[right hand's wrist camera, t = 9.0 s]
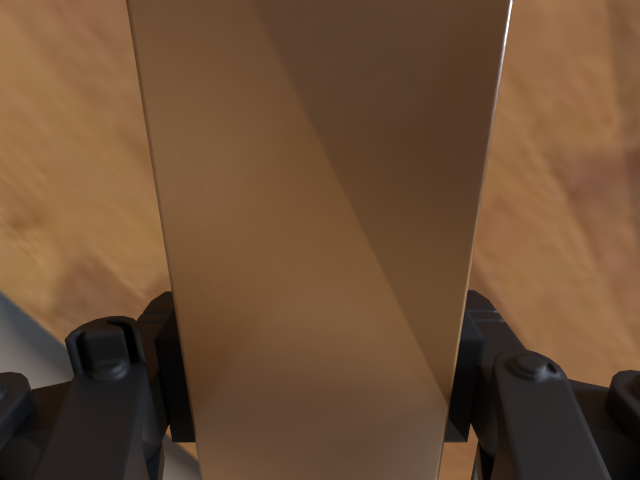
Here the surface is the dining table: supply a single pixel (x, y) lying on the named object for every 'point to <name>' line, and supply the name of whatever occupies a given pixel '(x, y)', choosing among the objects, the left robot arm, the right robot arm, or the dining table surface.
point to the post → (319, 220)
